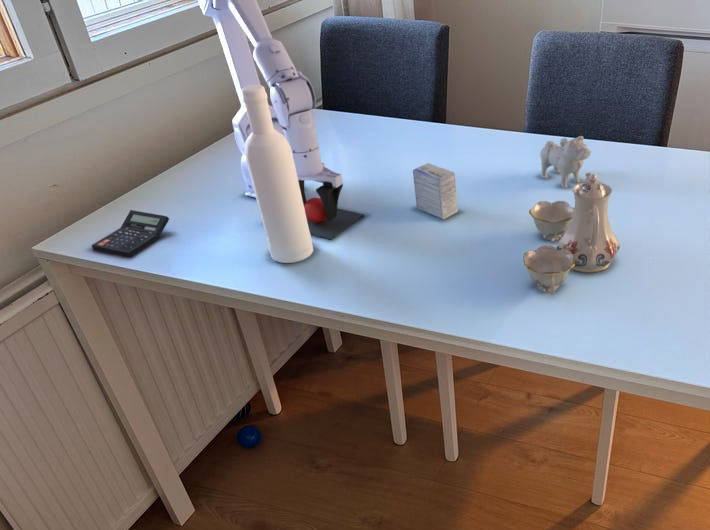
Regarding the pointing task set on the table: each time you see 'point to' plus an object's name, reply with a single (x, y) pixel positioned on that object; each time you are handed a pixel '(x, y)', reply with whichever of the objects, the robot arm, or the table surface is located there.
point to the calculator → (133, 234)
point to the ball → (315, 210)
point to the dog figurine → (564, 158)
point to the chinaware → (573, 236)
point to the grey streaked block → (435, 190)
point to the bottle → (275, 182)
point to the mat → (334, 224)
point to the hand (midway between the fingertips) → (317, 214)
